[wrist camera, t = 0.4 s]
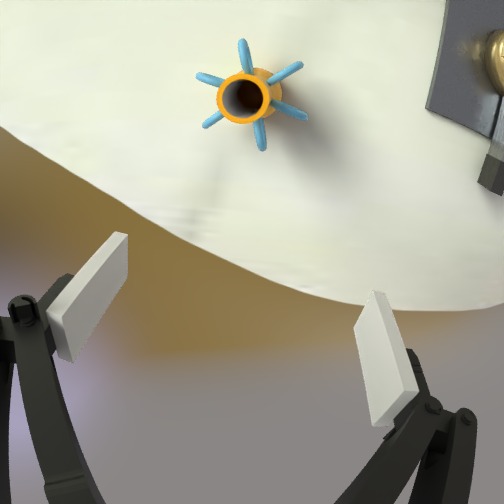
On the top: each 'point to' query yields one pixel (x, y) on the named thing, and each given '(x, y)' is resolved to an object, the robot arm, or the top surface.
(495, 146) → the brass knob with lugs
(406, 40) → the top surface
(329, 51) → the top surface
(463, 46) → the flat plate
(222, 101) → the cylinder
